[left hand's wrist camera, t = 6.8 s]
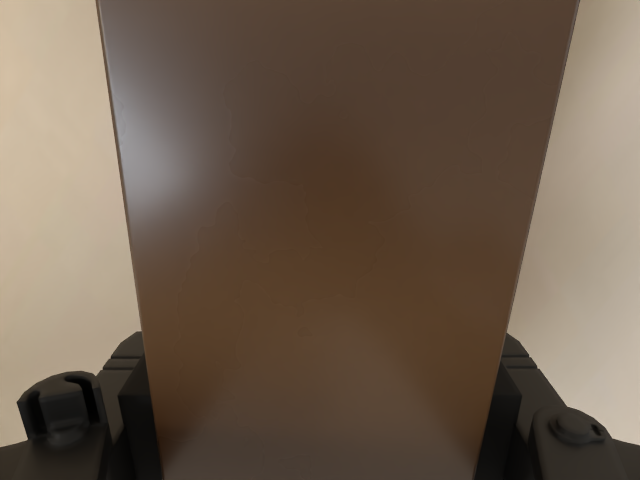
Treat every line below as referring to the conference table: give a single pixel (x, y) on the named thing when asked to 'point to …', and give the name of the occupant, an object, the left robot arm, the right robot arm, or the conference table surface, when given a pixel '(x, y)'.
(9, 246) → the conference table surface
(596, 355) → the conference table surface
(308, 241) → the beam
